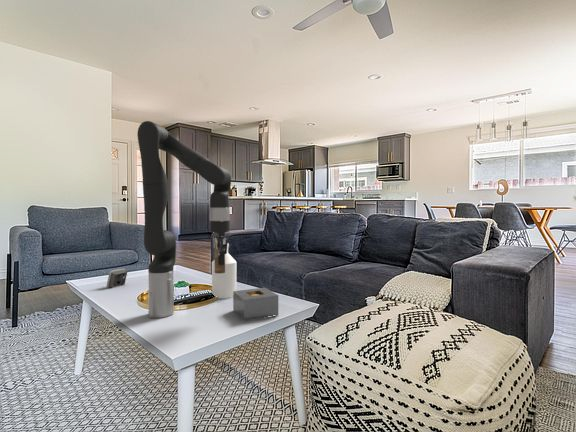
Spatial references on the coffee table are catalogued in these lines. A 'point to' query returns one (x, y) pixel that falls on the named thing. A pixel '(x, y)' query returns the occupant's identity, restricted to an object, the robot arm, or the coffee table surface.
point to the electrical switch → (116, 278)
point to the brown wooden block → (217, 267)
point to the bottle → (225, 278)
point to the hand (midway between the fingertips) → (219, 264)
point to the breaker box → (255, 303)
